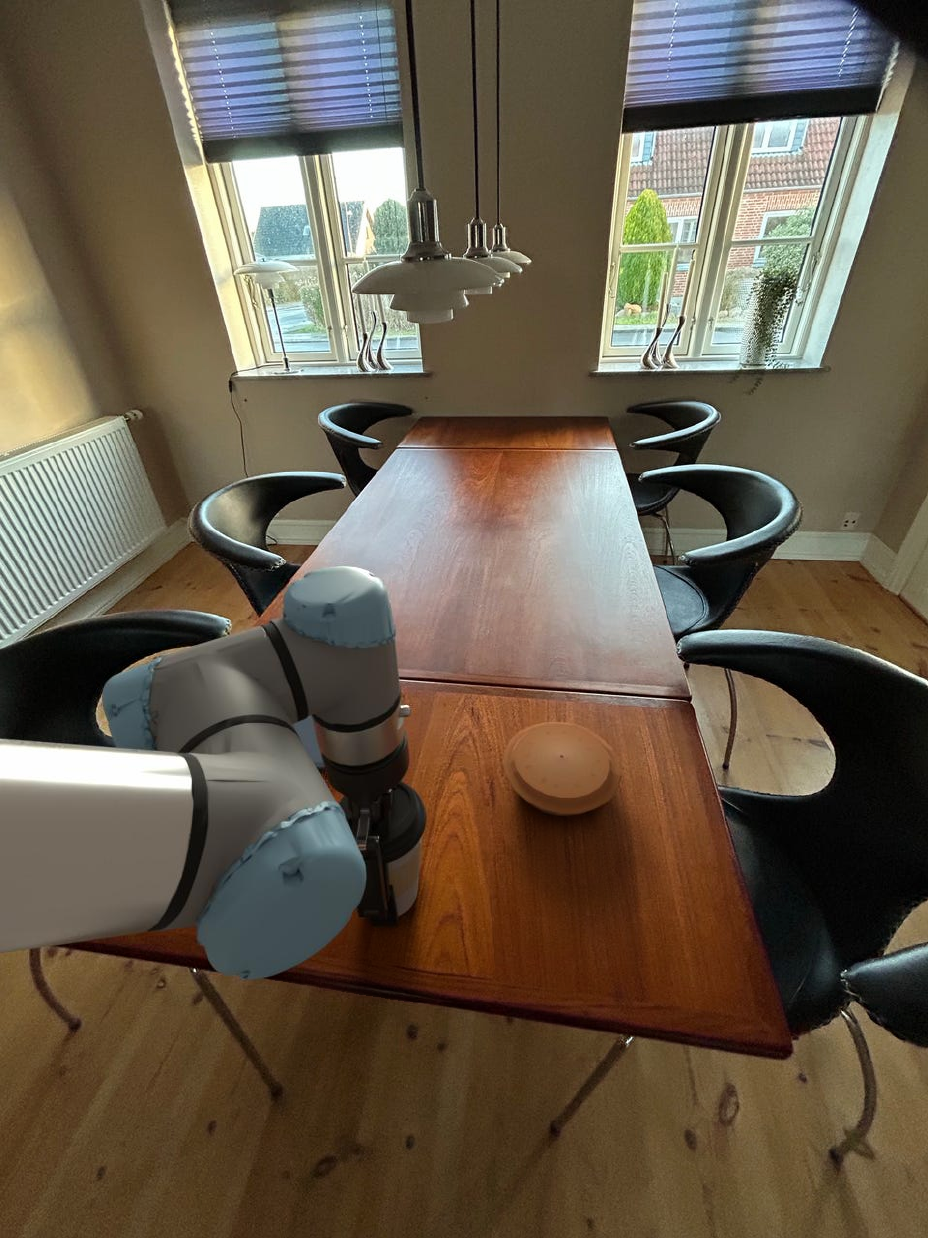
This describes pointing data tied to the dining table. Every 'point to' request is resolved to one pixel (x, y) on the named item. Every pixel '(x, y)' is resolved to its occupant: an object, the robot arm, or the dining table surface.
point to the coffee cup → (401, 843)
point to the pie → (561, 768)
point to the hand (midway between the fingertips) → (390, 881)
